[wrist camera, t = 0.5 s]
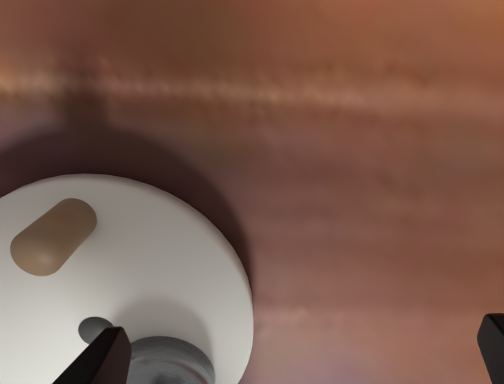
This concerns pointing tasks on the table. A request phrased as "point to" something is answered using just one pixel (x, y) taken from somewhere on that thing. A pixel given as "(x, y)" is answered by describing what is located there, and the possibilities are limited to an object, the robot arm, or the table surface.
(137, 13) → the table surface
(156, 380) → the cover
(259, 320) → the table surface
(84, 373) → the robot arm
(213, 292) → the turntable
